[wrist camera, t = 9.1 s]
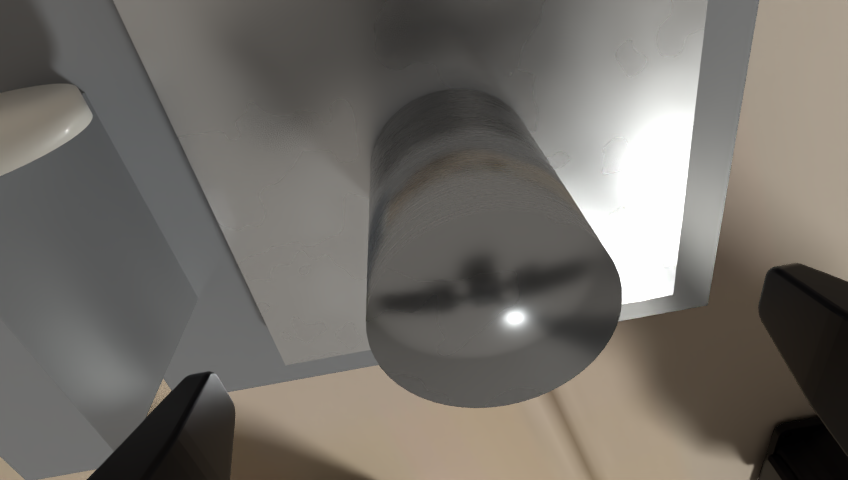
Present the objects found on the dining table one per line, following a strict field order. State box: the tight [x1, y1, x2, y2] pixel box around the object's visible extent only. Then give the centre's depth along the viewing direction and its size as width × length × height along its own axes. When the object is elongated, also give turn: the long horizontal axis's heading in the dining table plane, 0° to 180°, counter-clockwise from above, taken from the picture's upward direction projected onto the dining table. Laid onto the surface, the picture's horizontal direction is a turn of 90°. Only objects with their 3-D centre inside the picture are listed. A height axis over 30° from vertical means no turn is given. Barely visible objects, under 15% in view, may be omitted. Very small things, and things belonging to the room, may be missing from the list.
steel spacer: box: [366, 89, 623, 408], centre depth 11 cm, size 4×4×6 cm
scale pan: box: [113, 0, 708, 365], centre depth 14 cm, size 13×12×1 cm
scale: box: [0, 0, 759, 480], centre depth 14 cm, size 21×16×9 cm
